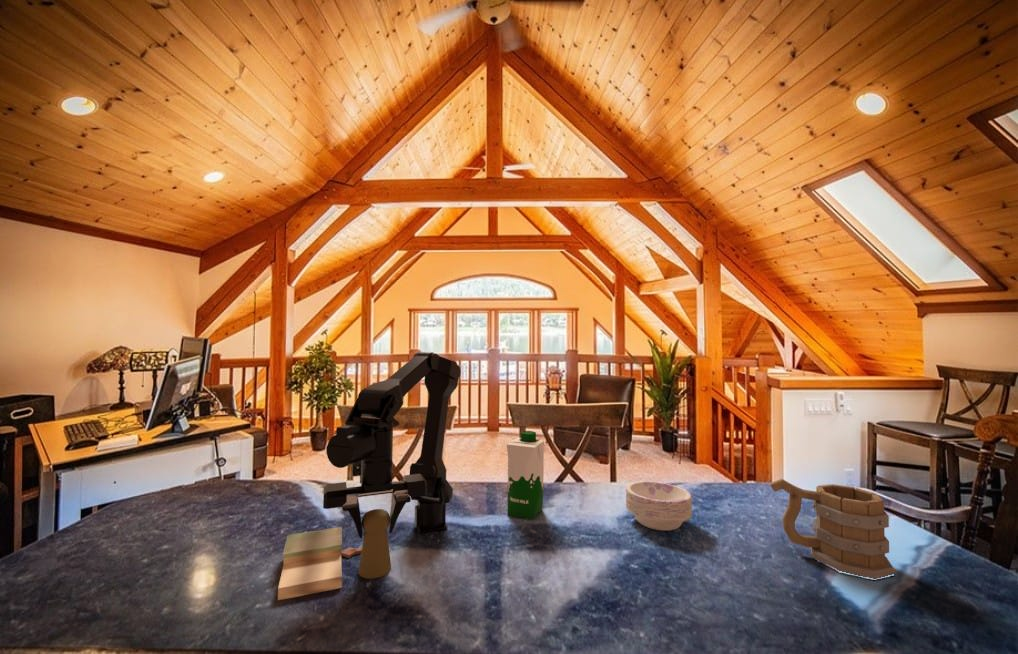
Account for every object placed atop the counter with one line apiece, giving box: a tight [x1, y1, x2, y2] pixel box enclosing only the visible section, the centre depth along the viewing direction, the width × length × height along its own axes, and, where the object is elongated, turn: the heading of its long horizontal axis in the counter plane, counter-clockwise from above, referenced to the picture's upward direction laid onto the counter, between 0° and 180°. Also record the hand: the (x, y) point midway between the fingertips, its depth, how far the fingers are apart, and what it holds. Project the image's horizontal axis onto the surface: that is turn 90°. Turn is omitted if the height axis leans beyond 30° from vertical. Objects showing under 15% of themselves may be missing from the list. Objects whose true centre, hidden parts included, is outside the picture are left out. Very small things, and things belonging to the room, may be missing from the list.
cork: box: [357, 508, 392, 579], centre depth 81 cm, size 6×6×11 cm
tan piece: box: [277, 526, 362, 601], centre depth 82 cm, size 16×16×4 cm
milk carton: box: [506, 430, 545, 521], centre depth 108 cm, size 9×9×20 cm
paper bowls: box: [625, 480, 693, 532], centre depth 103 cm, size 15×15×8 cm
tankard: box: [769, 478, 896, 579], centre depth 87 cm, size 20×13×15 cm, turn 62°
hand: (375, 535), depth 81 cm, fingers closed on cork, 5 cm apart
